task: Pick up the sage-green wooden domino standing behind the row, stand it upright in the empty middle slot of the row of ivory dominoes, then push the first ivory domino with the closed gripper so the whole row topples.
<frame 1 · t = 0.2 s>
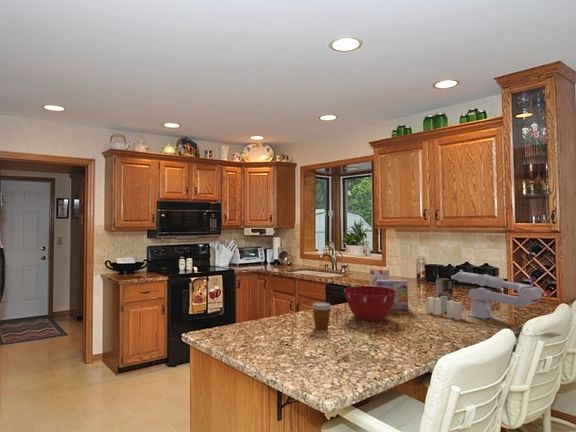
hand: (447, 274, 240), 21 cm above the worktop, tool horizontal, fingers open, 7 cm apart
disposable coffee cup: (321, 328, 199), on the worktop
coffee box: (444, 304, 258), on the worktop
domino 4: (436, 314, 229), on the worktop
mixing bowl: (369, 318, 219), on the worktop
cake pan box: (391, 309, 243), on the worktop
cracker box: (379, 299, 273), on the worktop
domino 1: (458, 319, 217), on the worktop
domino 2: (450, 317, 221), on the worktop
domino 5: (430, 312, 233), on the worktop
domino 3: (443, 311, 235), on the worktop
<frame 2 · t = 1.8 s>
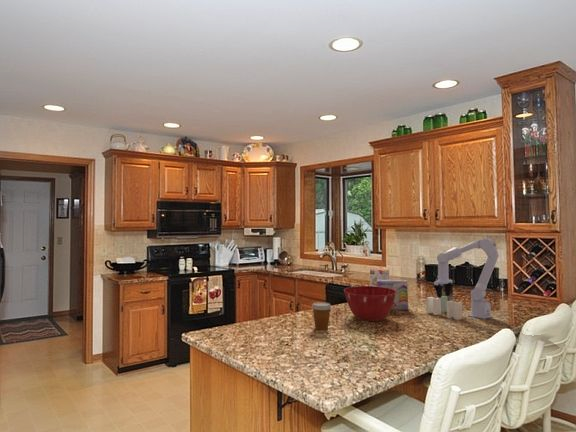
hand: (443, 296, 235), 9 cm above the worktop, tool pointing down, fingers open, 7 cm apart
nothing on the worktop moved.
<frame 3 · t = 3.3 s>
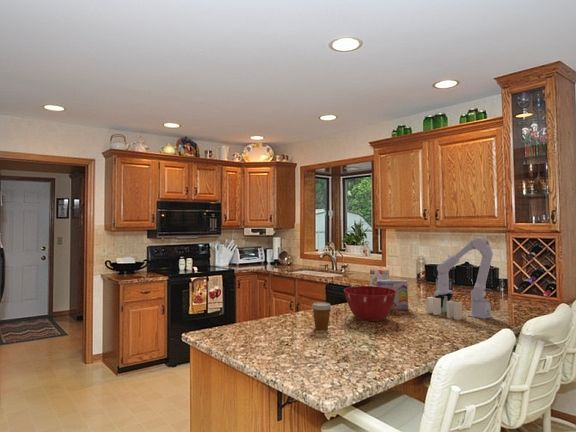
hand: (443, 306, 235), 3 cm above the worktop, tool pointing down, fingers closed on domino 3, 5 cm apart
domino 3: (443, 311, 235), on the worktop, touching gripper
everything else where it was.
when the fingers open (4 cm above the worktop, at t = 7.7 s): domino 3 drops 1 cm, on the worktop.
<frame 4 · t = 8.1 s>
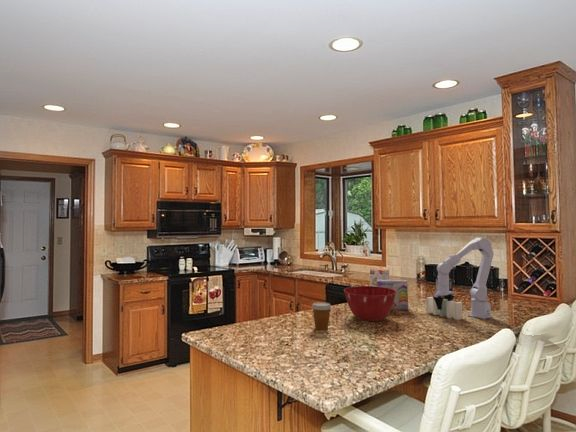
hand: (443, 308, 225), 4 cm above the worktop, tool pointing down, fingers open, 7 cm apart
domino 3: (443, 315, 225), on the worktop
everything else where it was.
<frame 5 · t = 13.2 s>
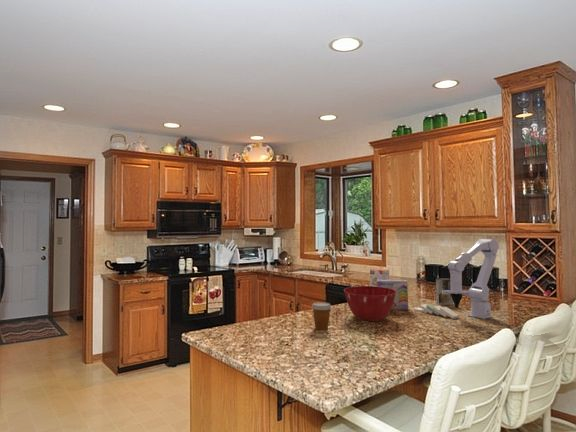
hand: (456, 307, 218), 6 cm above the worktop, tool pointing down, fingers closed
domino 4: (434, 312, 230), point 1 cm above the worktop, tilted 75°, touching domino 3, domino 5
domino 1: (455, 317, 219), point 1 cm above the worktop, tilted 70°, touching domino 2
domino 2: (448, 315, 222), point 1 cm above the worktop, tilted 70°, touching domino 1, domino 3
domino 5: (428, 312, 233), on the worktop, tilted 90°, touching domino 4
domino 3: (441, 313, 226), point 1 cm above the worktop, tilted 70°, touching domino 2, domino 4
everything else where it was.
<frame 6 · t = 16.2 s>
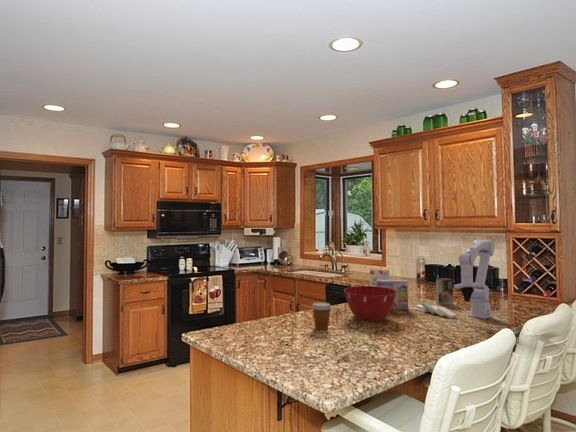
hand: (467, 301, 213), 10 cm above the worktop, tool pointing down, fingers closed
domino 4: (428, 309, 235), point 2 cm above the worktop, tilted 90°, touching domino 3, domino 5
domino 1: (453, 316, 220), point 1 cm above the worktop, tilted 72°, touching domino 2
domino 2: (445, 314, 224), point 1 cm above the worktop, tilted 71°, touching domino 1, domino 3
domino 5: (427, 311, 235), on the worktop, tilted 90°, touching domino 4
domino 3: (436, 312, 230), point 1 cm above the worktop, tilted 64°, touching domino 2, domino 4
everything else where it was.
at the end: domino 5 tilted 90°; domino 3 tilted 64°; domino 3 inside the target area (2.6 cm from its centre), point 0.8 cm above the worktop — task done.
